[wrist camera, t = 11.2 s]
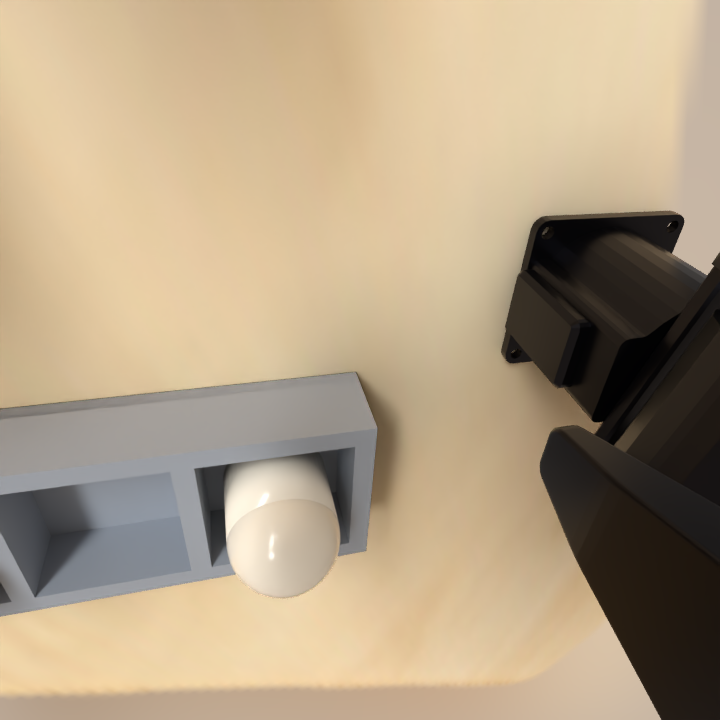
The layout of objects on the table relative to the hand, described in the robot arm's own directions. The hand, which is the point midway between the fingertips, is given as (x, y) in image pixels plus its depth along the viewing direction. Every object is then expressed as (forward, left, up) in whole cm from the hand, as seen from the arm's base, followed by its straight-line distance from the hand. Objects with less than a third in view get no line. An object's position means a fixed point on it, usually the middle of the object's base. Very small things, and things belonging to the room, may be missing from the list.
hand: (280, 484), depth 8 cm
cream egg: (-1, +11, -11) cm, 16 cm away
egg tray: (+6, +11, -12) cm, 17 cm away
